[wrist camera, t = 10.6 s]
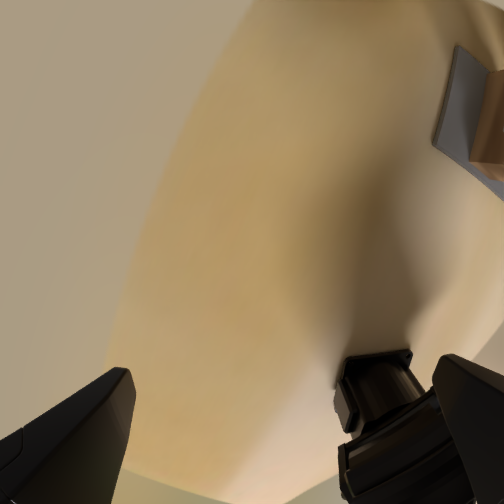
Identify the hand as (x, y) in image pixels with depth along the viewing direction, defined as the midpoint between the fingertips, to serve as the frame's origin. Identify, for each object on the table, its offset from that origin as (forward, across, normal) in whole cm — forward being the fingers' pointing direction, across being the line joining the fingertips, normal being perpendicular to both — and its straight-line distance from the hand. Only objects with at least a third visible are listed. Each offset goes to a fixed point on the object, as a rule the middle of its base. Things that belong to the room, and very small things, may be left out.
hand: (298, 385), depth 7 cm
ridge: (+13, -19, -11) cm, 25 cm away
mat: (+13, -19, -11) cm, 25 cm away
